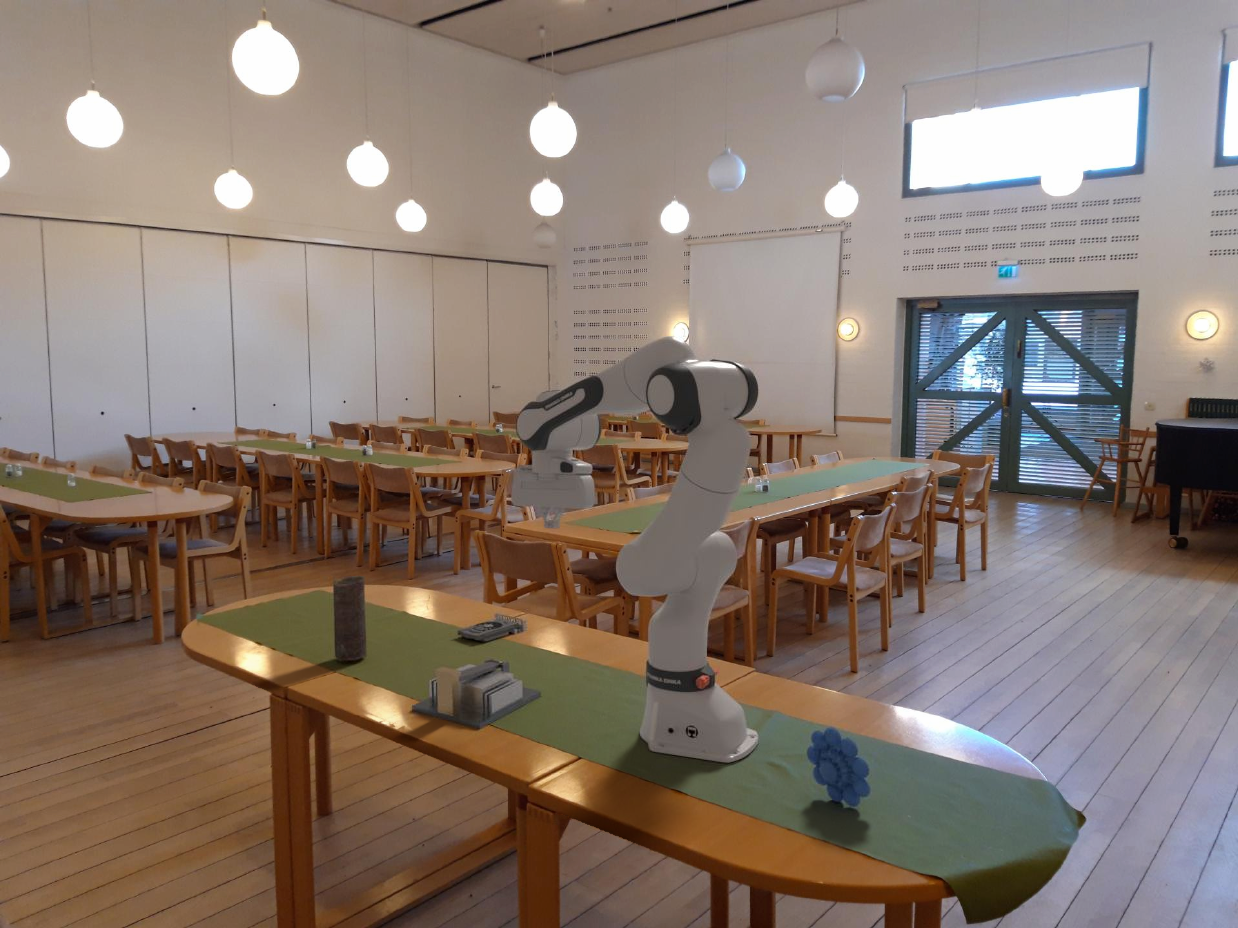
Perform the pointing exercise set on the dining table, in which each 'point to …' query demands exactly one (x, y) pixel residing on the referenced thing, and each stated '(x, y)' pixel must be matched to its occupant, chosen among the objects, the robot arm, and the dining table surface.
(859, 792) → the blue flower
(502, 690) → the grey boxy piece
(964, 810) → the dining table surface
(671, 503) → the robot arm
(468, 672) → the retention strap
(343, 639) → the candle
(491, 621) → the graphics card
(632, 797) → the dining table surface
